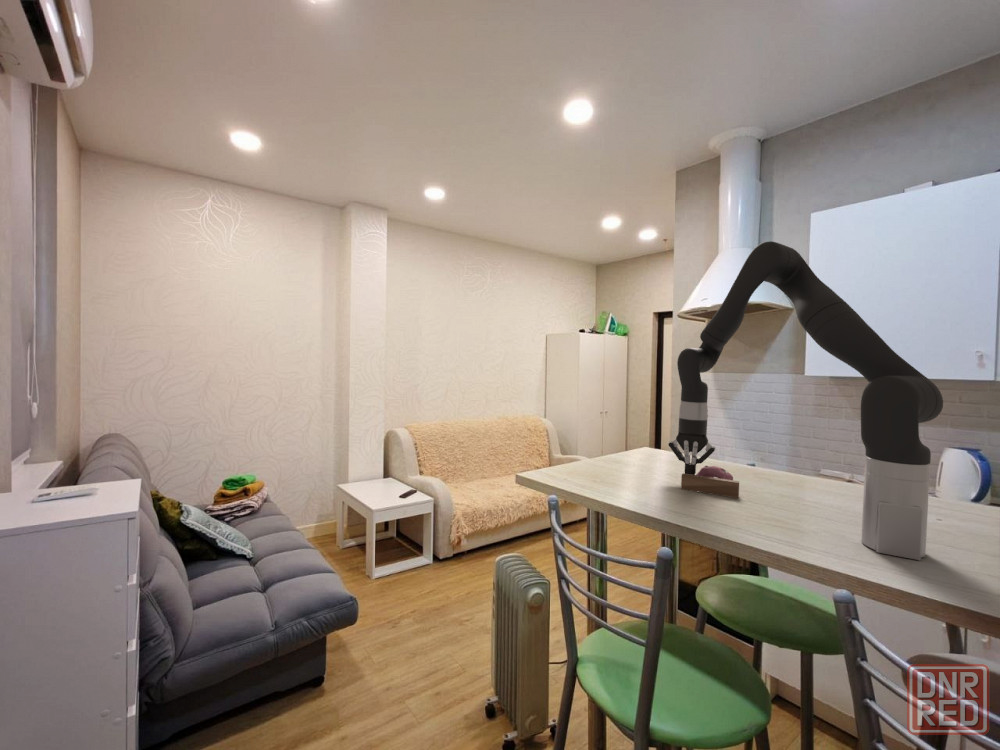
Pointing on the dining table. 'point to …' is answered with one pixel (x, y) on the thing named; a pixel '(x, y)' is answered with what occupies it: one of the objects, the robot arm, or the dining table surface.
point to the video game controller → (715, 472)
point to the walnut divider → (710, 485)
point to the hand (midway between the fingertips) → (690, 476)
